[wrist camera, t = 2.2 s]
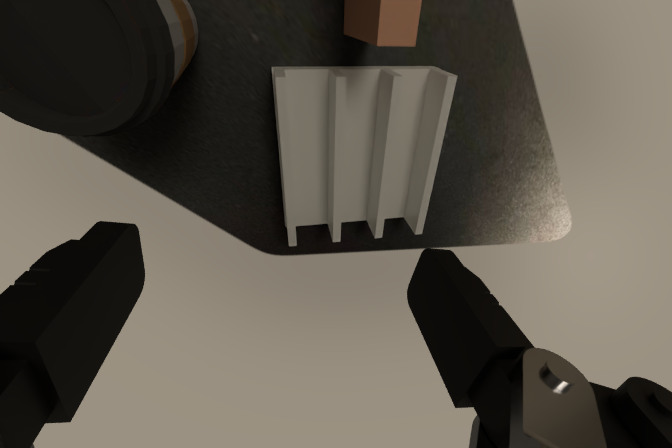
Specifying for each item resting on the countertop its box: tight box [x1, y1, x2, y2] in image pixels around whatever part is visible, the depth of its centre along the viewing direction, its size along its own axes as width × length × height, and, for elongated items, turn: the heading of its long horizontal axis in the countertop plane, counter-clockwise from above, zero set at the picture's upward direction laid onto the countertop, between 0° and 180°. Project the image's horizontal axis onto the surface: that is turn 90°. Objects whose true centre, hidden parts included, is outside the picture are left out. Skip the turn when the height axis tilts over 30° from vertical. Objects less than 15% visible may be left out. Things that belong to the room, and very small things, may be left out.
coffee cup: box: [0, 0, 198, 137], centre depth 18 cm, size 8×8×15 cm
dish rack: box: [272, 66, 457, 246], centre depth 31 cm, size 16×15×5 cm
